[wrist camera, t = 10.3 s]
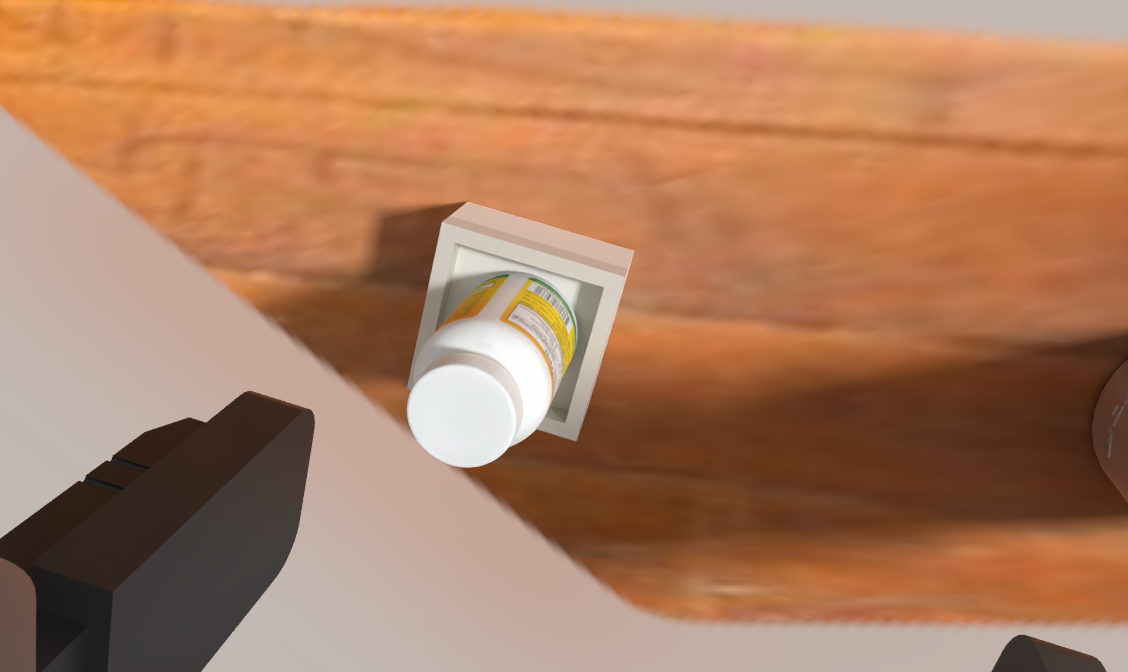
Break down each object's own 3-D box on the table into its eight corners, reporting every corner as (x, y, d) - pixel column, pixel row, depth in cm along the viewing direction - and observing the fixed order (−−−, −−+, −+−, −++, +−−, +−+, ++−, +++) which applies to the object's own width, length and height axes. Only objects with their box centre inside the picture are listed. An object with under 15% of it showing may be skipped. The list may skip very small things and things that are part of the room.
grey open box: (634, 250, 43) (624, 276, 39) (589, 403, 46) (576, 441, 42) (467, 201, 43) (441, 222, 39) (434, 355, 46) (406, 388, 42)
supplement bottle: (585, 278, 40) (544, 359, 32) (573, 391, 42) (530, 497, 33) (464, 260, 41) (390, 335, 32) (457, 372, 43) (385, 472, 34)
